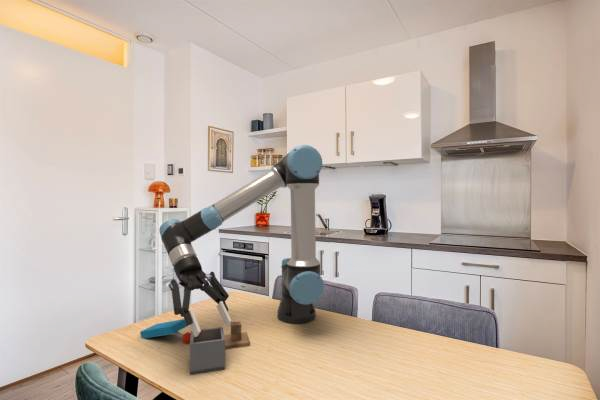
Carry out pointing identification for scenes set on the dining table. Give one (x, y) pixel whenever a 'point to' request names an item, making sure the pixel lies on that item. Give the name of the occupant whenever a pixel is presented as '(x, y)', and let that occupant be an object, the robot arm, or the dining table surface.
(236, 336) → the tee
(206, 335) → the square storage bin
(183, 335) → the lever
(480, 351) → the dining table surface
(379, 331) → the dining table surface
